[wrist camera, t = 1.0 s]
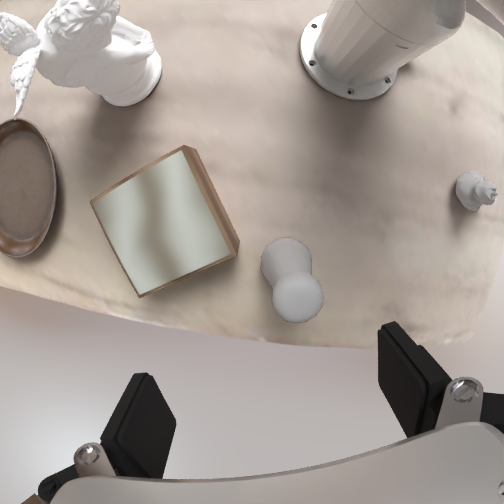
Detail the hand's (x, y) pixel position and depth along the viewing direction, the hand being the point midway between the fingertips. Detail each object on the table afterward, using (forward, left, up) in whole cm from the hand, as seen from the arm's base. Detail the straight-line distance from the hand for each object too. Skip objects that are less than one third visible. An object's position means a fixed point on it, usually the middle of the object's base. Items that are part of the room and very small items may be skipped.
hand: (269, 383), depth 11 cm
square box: (+8, -7, -25) cm, 27 cm away
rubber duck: (-30, +5, -25) cm, 39 cm away
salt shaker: (-2, +3, -25) cm, 26 cm away
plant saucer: (+29, -23, -26) cm, 45 cm away
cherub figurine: (+7, -25, -25) cm, 36 cm away
